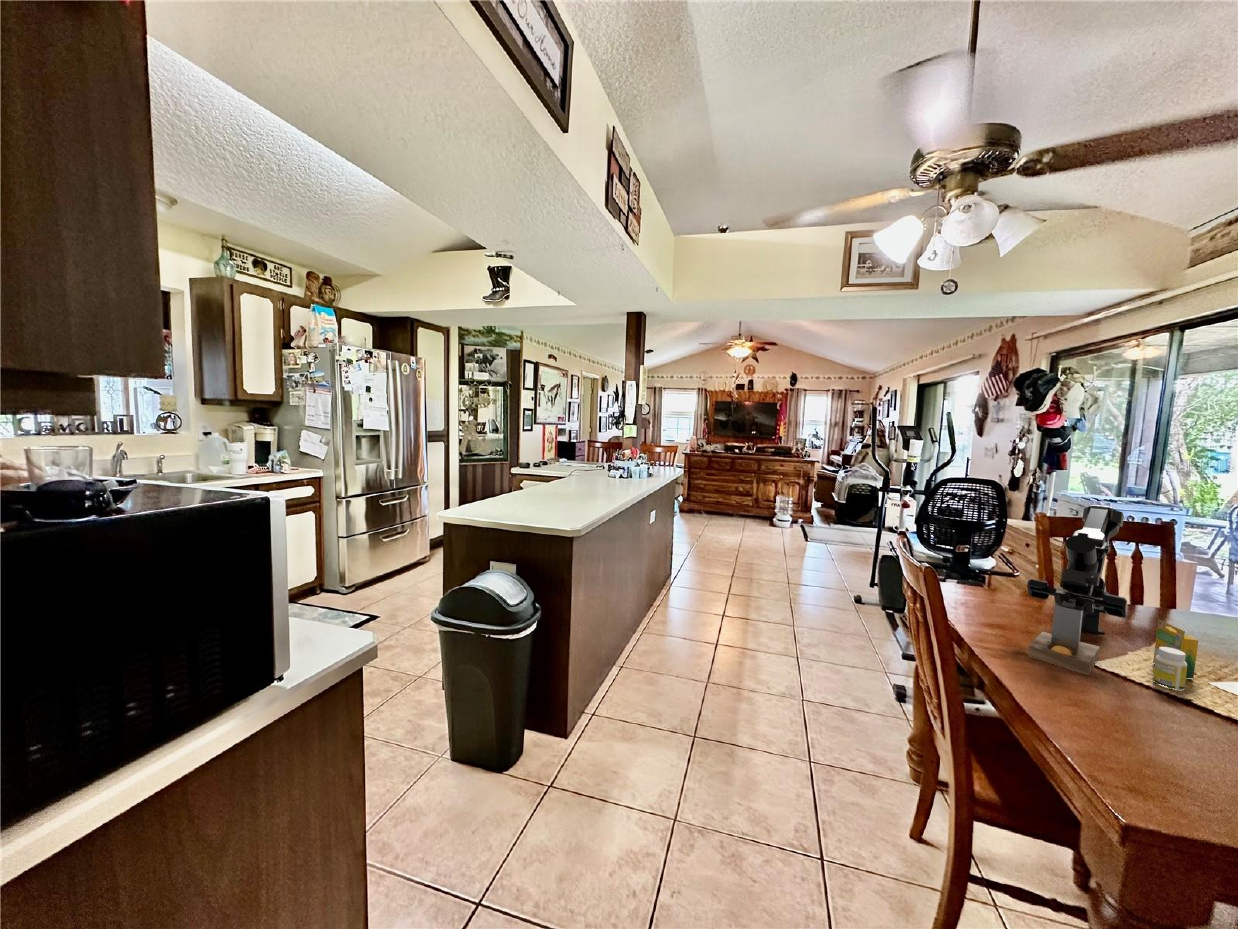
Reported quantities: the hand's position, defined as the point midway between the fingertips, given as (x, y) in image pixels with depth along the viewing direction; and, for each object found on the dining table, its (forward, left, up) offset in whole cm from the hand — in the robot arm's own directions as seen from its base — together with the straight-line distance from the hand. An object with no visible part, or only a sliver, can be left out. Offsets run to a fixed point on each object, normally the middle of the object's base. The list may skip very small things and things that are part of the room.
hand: (1067, 624), depth 121 cm
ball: (+4, -3, -6) cm, 8 cm away
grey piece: (+1, -1, -5) cm, 5 cm away
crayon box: (+1, +20, -8) cm, 22 cm away
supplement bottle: (+9, +15, -8) cm, 19 cm away
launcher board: (+1, -1, -8) cm, 8 cm away
